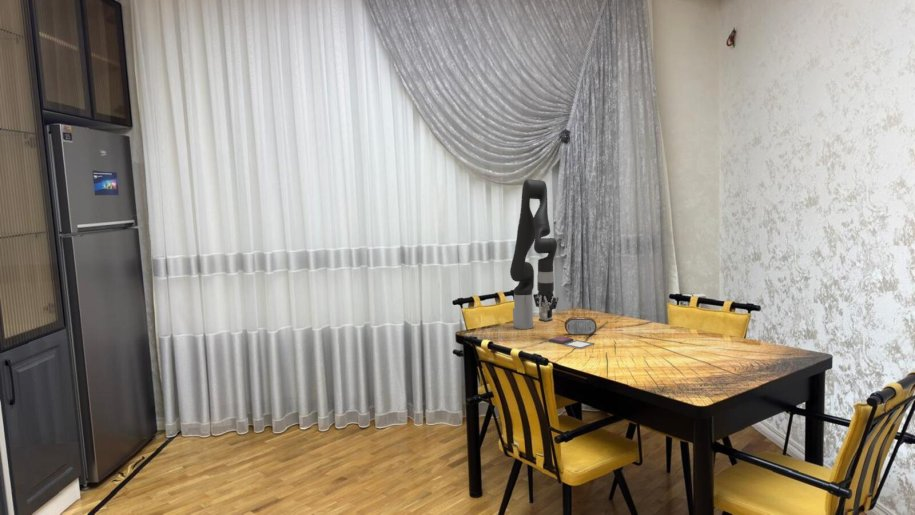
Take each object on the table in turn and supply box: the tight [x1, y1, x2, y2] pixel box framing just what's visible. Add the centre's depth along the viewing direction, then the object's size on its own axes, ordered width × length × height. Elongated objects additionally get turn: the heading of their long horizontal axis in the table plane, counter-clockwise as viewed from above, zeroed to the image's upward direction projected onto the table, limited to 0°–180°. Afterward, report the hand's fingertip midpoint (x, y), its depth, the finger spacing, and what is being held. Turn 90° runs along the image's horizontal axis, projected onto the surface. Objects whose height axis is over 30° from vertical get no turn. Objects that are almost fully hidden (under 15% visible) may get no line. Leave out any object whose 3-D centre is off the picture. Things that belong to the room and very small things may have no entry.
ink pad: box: [548, 335, 575, 345], centre depth 278 cm, size 8×8×1 cm
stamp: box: [538, 302, 554, 323], centre depth 283 cm, size 5×5×9 cm
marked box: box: [562, 339, 596, 350], centre depth 270 cm, size 10×10×1 cm
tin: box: [564, 316, 597, 336], centre depth 289 cm, size 15×3×8 cm, turn 84°
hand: (545, 316), depth 283 cm, fingers closed on stamp, 4 cm apart
